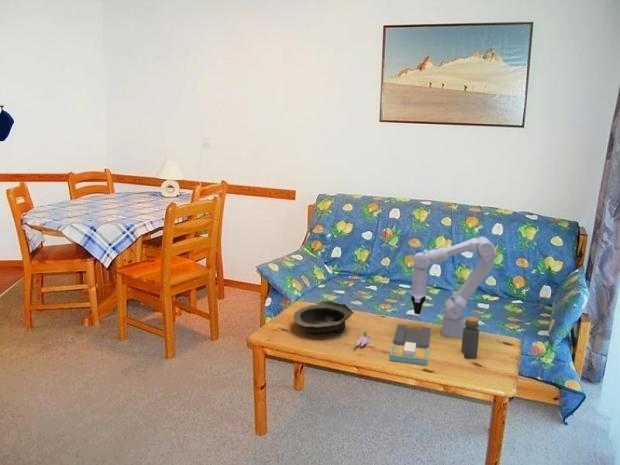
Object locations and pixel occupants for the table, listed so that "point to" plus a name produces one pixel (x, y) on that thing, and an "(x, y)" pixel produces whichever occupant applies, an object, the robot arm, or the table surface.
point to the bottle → (470, 338)
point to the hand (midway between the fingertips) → (417, 313)
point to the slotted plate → (412, 336)
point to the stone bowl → (323, 317)
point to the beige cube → (409, 351)
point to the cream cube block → (410, 344)
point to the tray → (408, 358)
